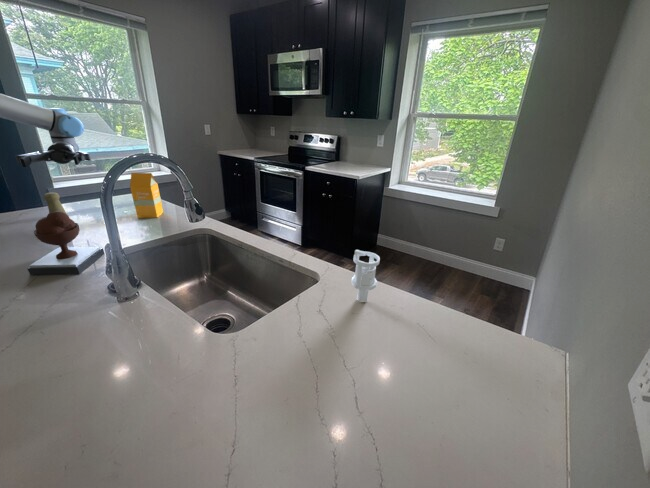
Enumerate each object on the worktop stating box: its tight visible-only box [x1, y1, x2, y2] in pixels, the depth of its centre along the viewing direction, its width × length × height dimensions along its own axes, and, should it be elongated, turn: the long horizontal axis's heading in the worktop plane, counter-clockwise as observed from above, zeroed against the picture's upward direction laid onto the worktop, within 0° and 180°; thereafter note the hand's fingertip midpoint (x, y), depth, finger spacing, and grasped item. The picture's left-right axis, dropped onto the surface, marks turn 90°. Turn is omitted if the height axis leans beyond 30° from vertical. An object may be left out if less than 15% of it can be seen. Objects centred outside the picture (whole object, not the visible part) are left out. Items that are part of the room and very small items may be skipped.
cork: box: [43, 192, 67, 214], centre depth 133 cm, size 6×6×11 cm
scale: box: [27, 246, 106, 276], centre depth 97 cm, size 14×14×3 cm
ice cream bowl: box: [33, 211, 81, 259], centre depth 94 cm, size 11×11×15 cm
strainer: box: [350, 249, 381, 303], centre depth 83 cm, size 7×7×15 cm
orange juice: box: [129, 172, 164, 219], centre depth 138 cm, size 8×9×20 cm
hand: (50, 161), depth 100 cm, fingers open, 13 cm apart
